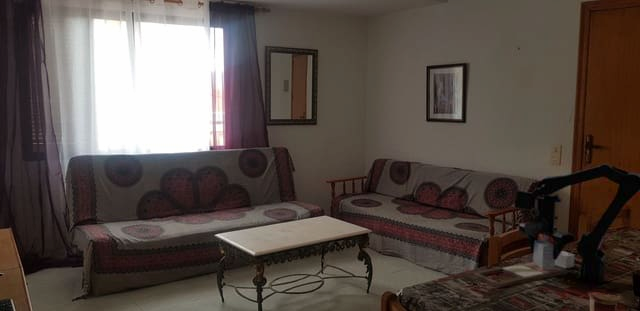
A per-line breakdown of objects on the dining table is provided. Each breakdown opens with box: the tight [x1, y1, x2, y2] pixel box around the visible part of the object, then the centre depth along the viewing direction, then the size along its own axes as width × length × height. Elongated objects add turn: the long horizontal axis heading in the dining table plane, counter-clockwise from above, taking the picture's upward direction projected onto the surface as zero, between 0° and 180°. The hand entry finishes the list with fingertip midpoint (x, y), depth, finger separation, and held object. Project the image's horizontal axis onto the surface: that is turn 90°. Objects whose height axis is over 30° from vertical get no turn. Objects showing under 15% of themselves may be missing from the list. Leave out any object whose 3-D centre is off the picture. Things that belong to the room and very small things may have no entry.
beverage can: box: [538, 230, 558, 245], centre depth 189 cm, size 6×6×12 cm
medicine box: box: [532, 239, 556, 270], centre depth 173 cm, size 8×4×9 cm, turn 179°
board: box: [470, 261, 569, 289], centre depth 169 cm, size 12×33×1 cm, turn 116°
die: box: [555, 250, 575, 269], centre depth 178 cm, size 4×4×5 cm
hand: (543, 255), depth 173 cm, fingers open, 9 cm apart
